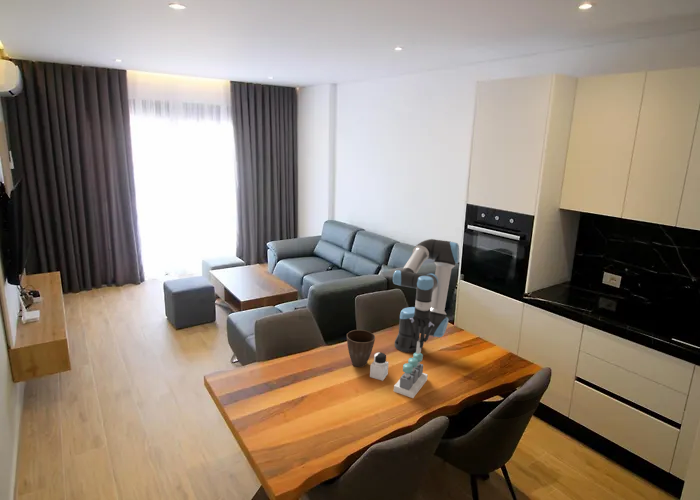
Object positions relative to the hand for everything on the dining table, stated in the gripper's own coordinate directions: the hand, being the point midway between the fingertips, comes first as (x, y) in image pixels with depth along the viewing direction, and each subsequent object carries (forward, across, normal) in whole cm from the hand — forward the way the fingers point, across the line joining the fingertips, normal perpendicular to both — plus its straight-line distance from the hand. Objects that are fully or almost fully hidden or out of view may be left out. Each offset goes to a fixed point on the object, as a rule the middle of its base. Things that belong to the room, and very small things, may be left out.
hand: (418, 352), depth 213 cm
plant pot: (+15, -31, -2) cm, 35 cm away
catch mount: (+15, 0, -6) cm, 16 cm away
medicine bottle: (+15, -17, -7) cm, 24 cm away
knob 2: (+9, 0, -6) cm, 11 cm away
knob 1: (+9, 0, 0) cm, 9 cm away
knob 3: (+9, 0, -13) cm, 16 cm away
